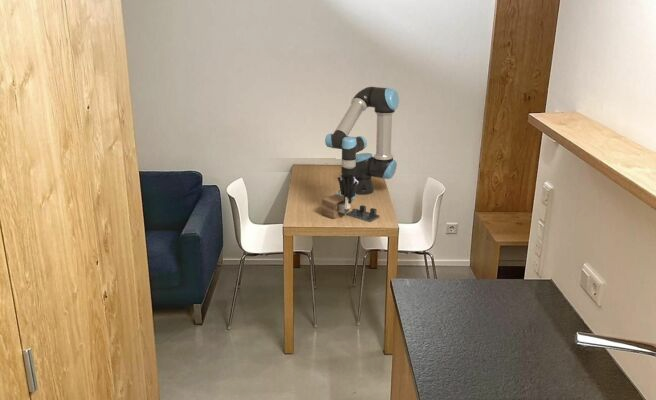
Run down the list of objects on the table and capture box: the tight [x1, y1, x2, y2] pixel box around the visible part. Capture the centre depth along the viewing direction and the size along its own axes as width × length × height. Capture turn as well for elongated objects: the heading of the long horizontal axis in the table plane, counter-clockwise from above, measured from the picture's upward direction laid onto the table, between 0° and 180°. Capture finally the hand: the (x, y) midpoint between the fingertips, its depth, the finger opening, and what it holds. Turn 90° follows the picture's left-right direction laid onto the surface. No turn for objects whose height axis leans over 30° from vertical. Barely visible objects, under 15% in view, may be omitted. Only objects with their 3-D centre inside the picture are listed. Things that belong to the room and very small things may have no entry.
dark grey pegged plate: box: [345, 204, 380, 223], centre depth 337 cm, size 9×16×4 cm, turn 51°
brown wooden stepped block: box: [321, 193, 348, 220], centre depth 338 cm, size 12×8×9 cm, turn 141°
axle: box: [337, 202, 350, 213], centre depth 338 cm, size 4×15×4 cm, turn 52°
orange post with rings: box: [336, 189, 357, 207], centre depth 350 cm, size 12×10×15 cm
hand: (347, 208), depth 333 cm, fingers closed
